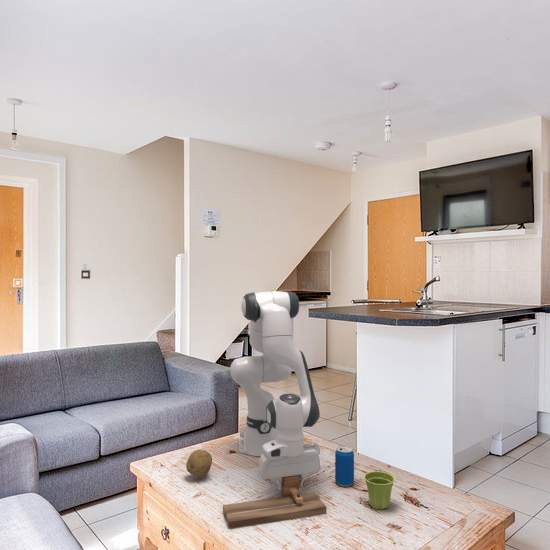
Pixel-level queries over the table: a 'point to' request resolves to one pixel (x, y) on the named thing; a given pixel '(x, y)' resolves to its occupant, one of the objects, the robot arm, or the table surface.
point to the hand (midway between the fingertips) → (290, 488)
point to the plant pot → (379, 488)
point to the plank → (272, 510)
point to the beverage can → (344, 466)
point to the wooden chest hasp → (292, 488)
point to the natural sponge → (199, 463)
